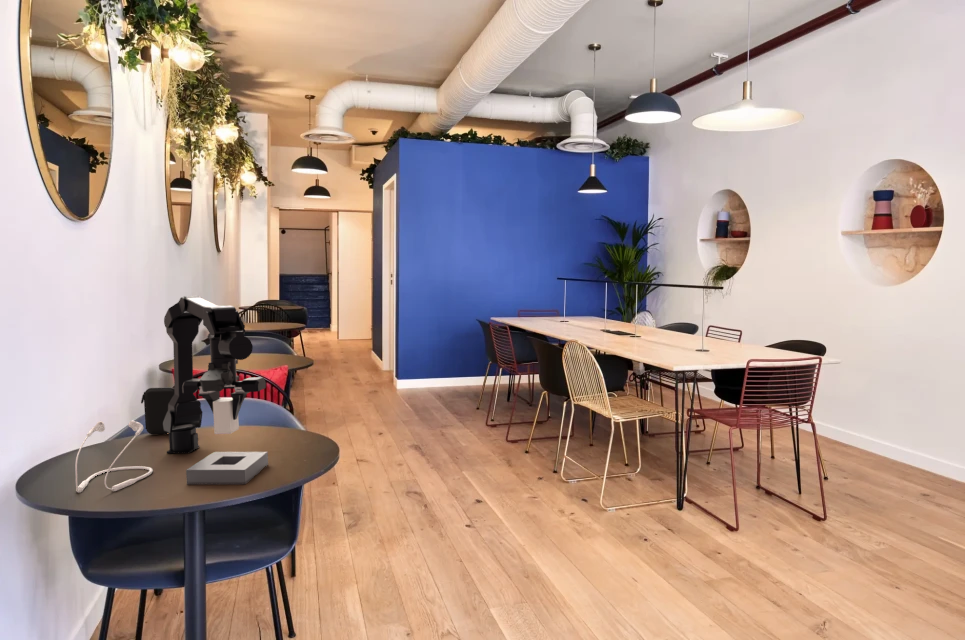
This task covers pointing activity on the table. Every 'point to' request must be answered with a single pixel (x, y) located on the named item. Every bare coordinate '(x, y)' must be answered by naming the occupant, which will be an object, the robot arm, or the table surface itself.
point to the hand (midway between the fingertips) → (226, 419)
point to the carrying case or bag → (156, 408)
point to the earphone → (100, 428)
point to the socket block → (227, 468)
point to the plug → (224, 416)
